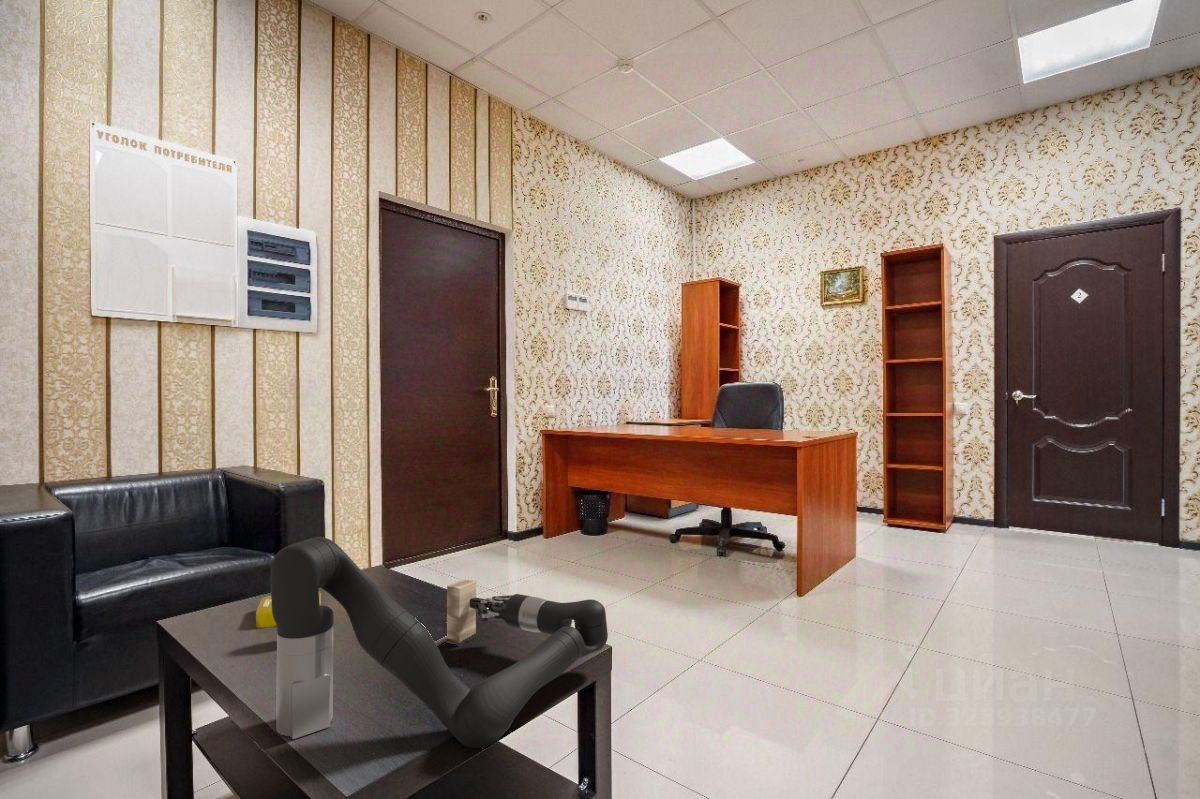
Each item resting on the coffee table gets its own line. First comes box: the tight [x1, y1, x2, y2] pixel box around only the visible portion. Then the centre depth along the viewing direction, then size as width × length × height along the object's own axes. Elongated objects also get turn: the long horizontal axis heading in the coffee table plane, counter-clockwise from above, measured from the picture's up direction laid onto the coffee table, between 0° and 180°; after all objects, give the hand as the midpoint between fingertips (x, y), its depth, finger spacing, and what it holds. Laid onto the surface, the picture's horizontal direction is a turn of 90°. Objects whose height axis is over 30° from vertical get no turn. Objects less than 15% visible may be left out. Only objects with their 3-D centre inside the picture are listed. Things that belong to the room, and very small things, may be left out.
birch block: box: [446, 579, 477, 643], centre depth 141 cm, size 4×6×14 cm, turn 152°
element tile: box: [255, 590, 322, 629], centre depth 158 cm, size 15×15×5 cm
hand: (471, 602), depth 141 cm, fingers closed
